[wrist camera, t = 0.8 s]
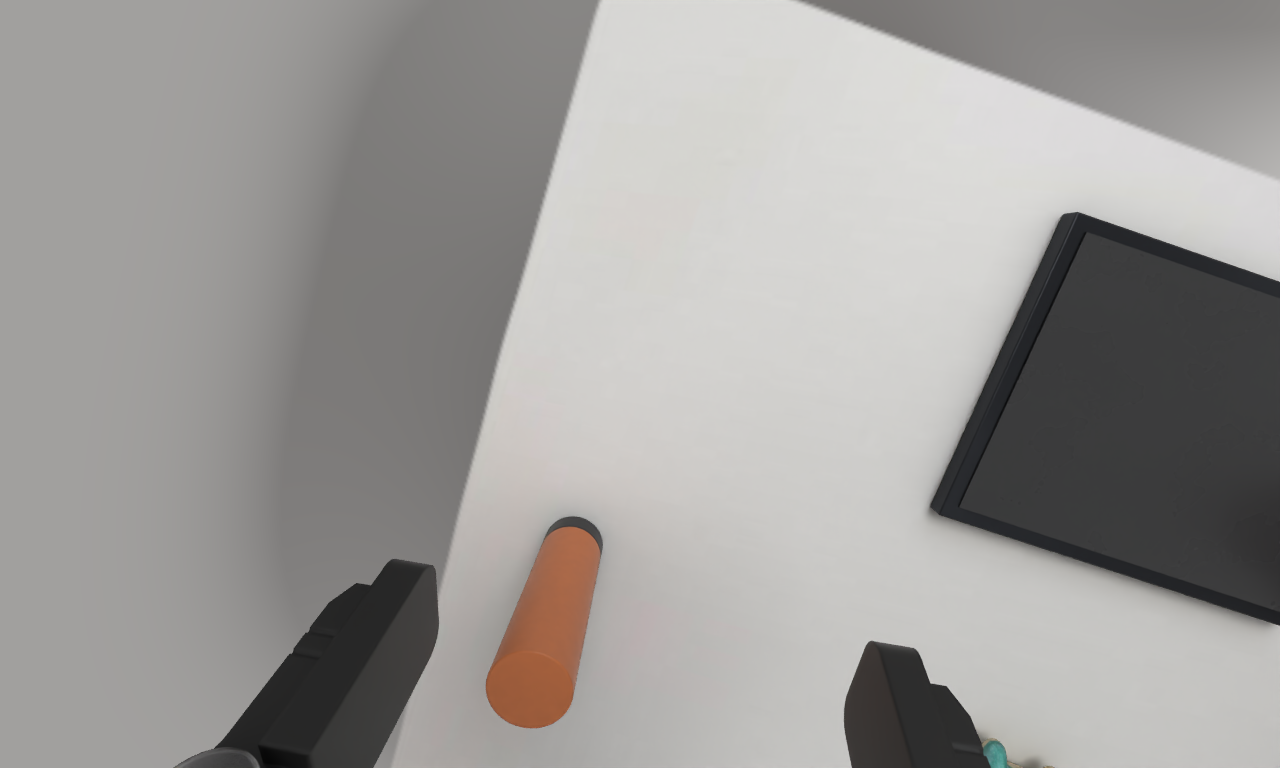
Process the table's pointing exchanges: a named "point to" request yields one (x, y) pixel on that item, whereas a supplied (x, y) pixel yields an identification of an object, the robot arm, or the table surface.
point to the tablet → (1135, 419)
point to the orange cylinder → (547, 629)
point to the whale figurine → (998, 755)
